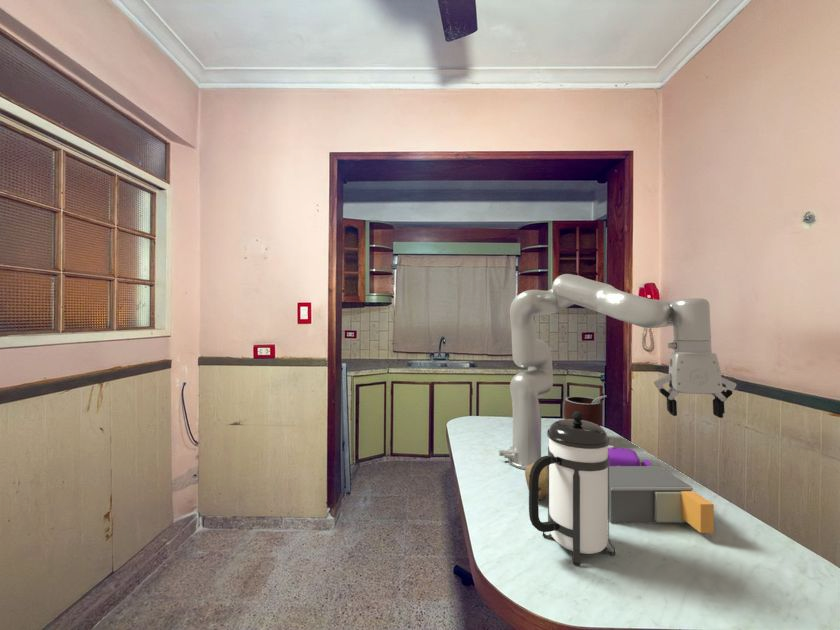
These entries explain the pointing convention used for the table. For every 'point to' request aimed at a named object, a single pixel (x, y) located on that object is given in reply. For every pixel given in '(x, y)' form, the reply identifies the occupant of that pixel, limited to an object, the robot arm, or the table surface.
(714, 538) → the table surface
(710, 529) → the orange block handle
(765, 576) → the table surface
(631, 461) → the toy camera
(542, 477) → the natural sponge
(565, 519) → the coffee press
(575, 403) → the mate gourd
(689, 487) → the box
